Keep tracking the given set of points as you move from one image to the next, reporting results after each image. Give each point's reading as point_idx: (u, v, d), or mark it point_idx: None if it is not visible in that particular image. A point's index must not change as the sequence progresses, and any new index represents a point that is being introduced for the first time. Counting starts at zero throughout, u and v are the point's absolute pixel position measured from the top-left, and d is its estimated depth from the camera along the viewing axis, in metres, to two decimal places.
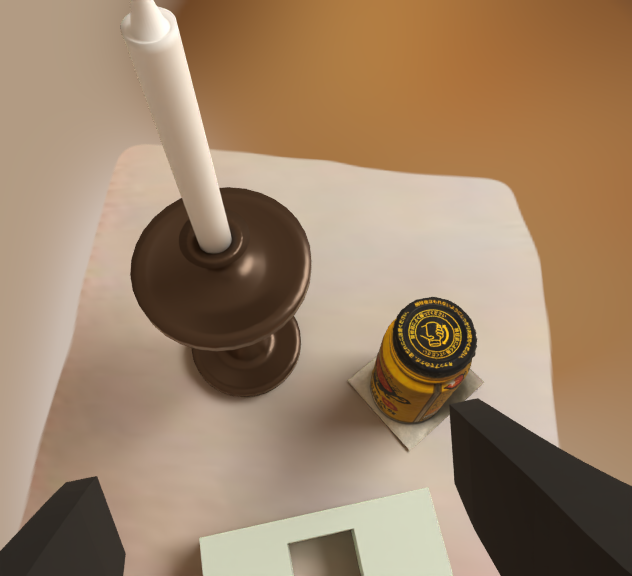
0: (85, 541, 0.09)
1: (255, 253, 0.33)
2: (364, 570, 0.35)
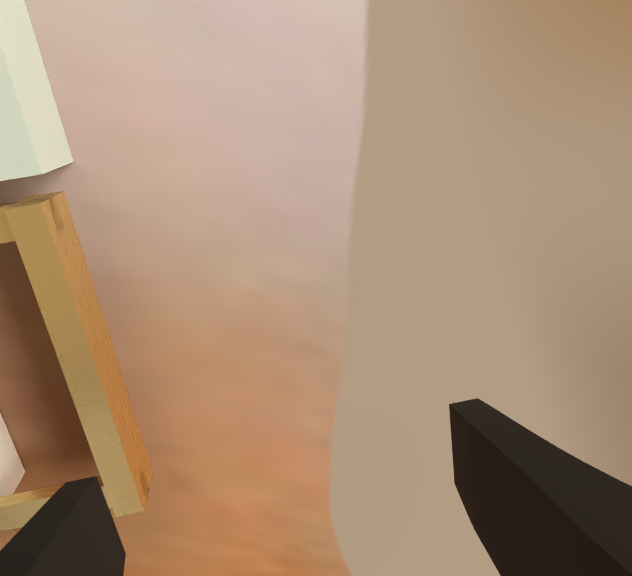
0: (85, 541, 0.09)
1: None
2: None
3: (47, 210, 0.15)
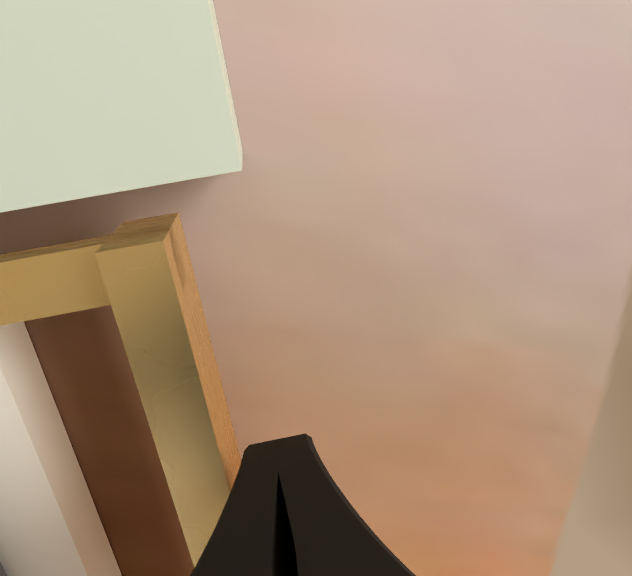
0: None
1: None
2: None
3: (169, 252, 0.08)
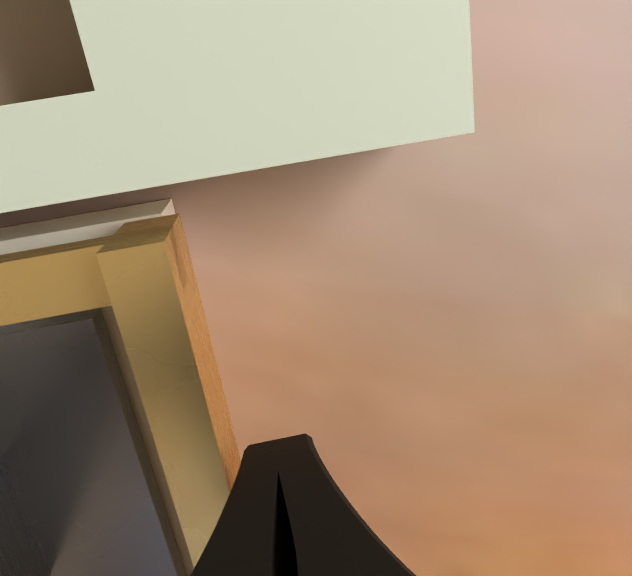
0: None
1: None
2: None
3: (171, 252, 0.08)
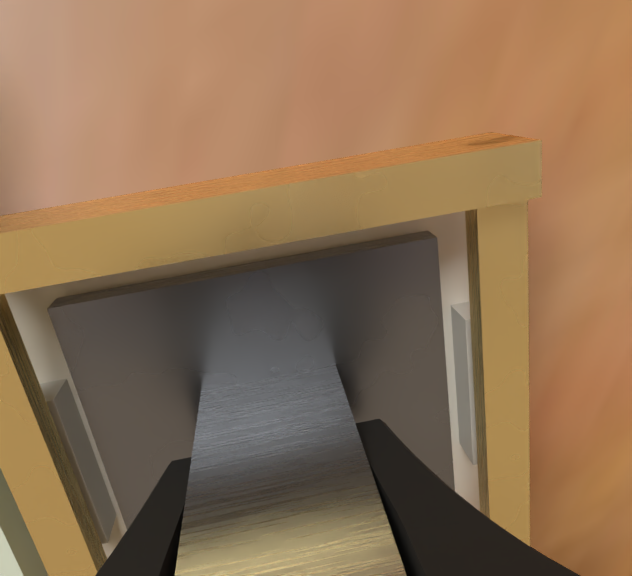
0: None
1: None
2: None
3: None
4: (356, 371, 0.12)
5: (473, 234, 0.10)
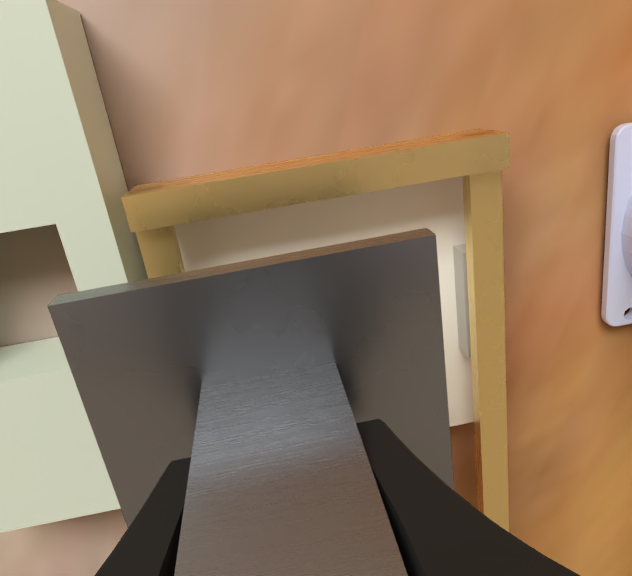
0: None
1: None
2: None
3: (133, 193, 0.15)
4: (355, 368, 0.12)
5: (467, 193, 0.16)
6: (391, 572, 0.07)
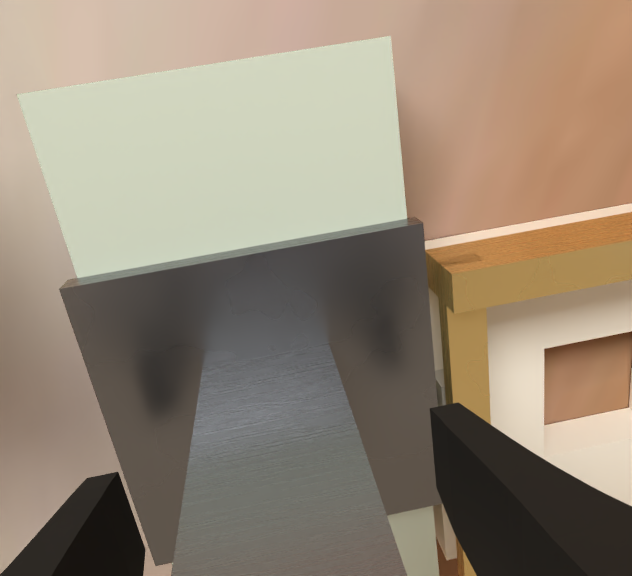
0: (108, 536, 0.09)
1: None
2: None
3: (458, 268, 0.12)
4: (347, 350, 0.13)
5: None
6: (374, 520, 0.07)
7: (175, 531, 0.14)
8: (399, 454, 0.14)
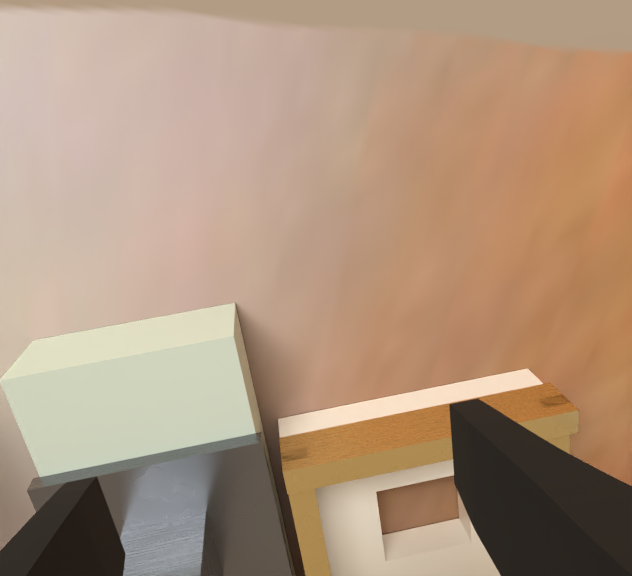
0: (85, 541, 0.09)
1: None
2: None
3: (289, 465, 0.19)
4: (219, 516, 0.19)
5: None
6: None
7: None
8: None
